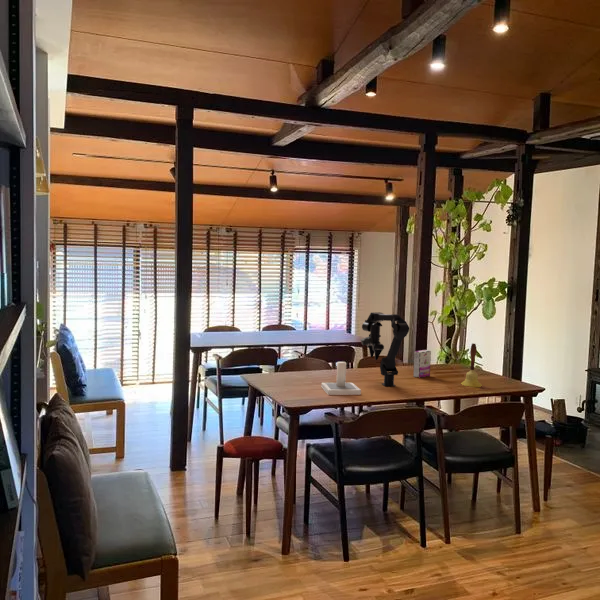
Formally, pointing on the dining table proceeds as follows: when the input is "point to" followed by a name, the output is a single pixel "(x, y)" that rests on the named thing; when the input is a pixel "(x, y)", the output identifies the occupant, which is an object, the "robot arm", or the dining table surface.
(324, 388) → the base plate
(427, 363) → the candy bar box
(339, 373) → the cream vase
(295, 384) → the dining table surface
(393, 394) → the dining table surface
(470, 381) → the handbell
